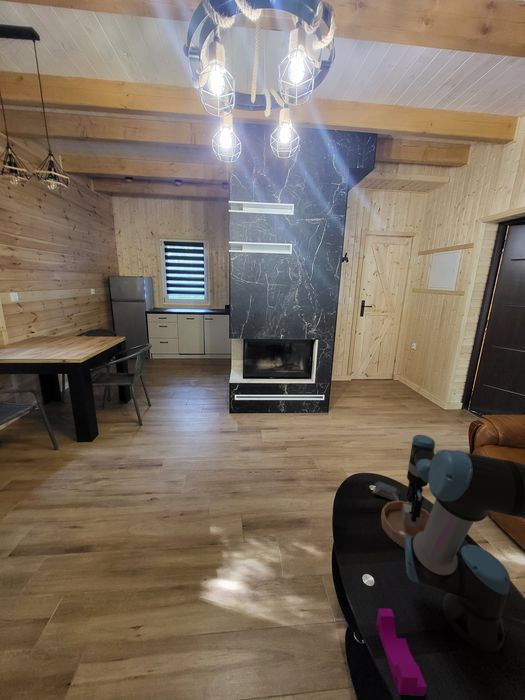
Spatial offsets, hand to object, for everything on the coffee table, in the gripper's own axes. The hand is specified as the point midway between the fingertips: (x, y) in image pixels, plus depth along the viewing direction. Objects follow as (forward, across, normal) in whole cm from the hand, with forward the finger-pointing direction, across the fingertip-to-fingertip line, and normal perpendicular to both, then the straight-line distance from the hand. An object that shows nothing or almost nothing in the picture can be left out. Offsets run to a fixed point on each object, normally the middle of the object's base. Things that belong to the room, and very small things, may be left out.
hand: (410, 520), depth 118 cm
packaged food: (+6, +17, +11) cm, 21 cm away
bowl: (+5, 0, 0) cm, 5 cm away
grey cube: (0, 0, 0) cm, 0 cm away
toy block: (+5, -48, +12) cm, 50 cm away
